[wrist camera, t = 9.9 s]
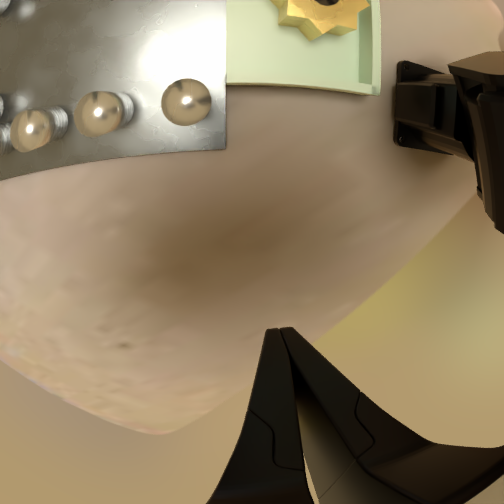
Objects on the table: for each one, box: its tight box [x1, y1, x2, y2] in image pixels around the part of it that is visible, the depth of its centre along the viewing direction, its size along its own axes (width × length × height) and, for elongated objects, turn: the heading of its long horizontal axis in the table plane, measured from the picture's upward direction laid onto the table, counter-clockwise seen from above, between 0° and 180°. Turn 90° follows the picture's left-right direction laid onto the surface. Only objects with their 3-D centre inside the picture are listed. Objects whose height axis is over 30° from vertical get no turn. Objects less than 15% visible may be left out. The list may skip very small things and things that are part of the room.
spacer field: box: [0, 0, 227, 180], centre depth 10 cm, size 18×20×4 cm
